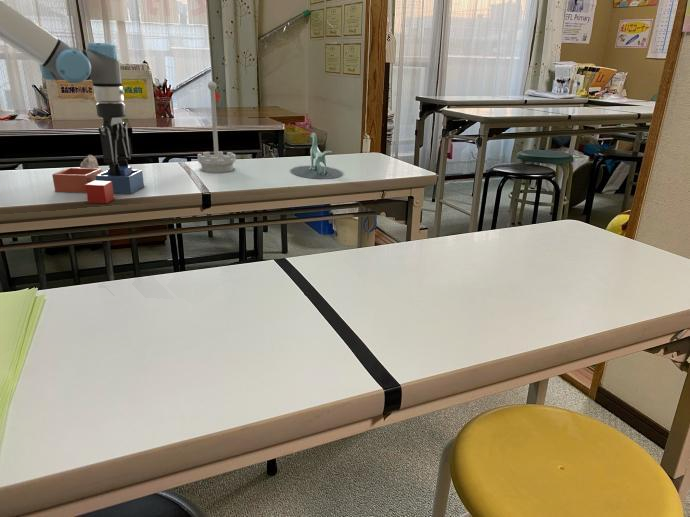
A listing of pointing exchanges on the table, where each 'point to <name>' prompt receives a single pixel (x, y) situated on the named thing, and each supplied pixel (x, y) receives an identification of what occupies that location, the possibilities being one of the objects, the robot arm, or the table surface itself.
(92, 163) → the rock
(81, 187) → the terracotta bin
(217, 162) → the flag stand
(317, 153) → the dinosaur
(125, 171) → the blue block
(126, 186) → the blue bin
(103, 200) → the red block
